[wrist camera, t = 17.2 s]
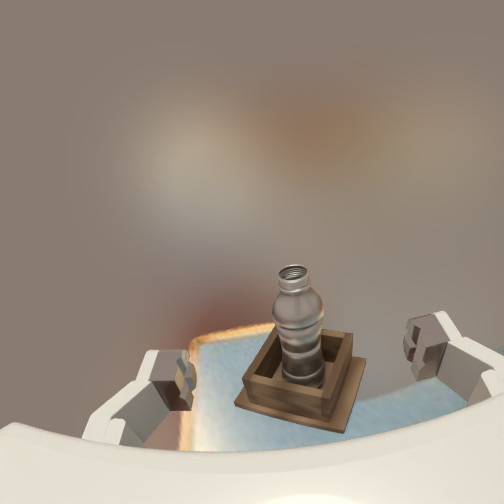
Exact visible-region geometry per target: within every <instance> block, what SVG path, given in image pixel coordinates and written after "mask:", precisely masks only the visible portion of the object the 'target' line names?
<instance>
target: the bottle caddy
mask: <svg viewBox="0 0 504 504" xmlns="http://www.w3.org/2000/svg"><path fill="white" fill-rule="evenodd" d="M352 346H353V333H345V332H339V331H332V330H325V329H321V348H322V355H323V358H324V361H325V366H326V374H325V378H324V381H323V383H322V384H321V385H320V386H319V387H318V388H311V387H307V386H302V385H297V384H293V383H288V382H284V381H283V379H282V375H281V370H282V362H283V361H282V346H281V342H280V337H279V334H278V331H277V328H276V326H275V327H274V328H273V330H272V332H271V333H270V335H269V336H268V338H267V340H266V341H265V343H264V344H263V346H262V348H261V349H260V351H259V352H258V354H257V355H256V357H255V359H254V360H253V362H252V363H251V365H250V366H249V368H248V369H247V371H246V373H245V374H244V376H243V377H242V380H243V383H244V387H243V389H242V390H241V392H240V393H239V395H238V397H237V398H236V400H235V401H234V404H235V406H237V407H241V408H244V409H247V410H250V411H254V412H257V413H260V414H264V415H267V416H271V417H274V418H278V419H282V420H285V421H289V422H293V423H297V424H301V425H305V426H310V427H314V428H318V429H323V430H328V431H332V432H337V433H342V434H343V433H344V431H345V428H346V425H347V422H348V419H349V416H350V413H351V410H352V407H353V404H354V401H355V398H356V395H357V391H358V388H359V385H360V381H361V378H362V375H363V371H364V367H365V364H366V358H360V357H352Z"/></svg>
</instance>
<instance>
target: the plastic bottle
mask: <svg viewBox="0 0 504 504" xmlns="http://www.w3.org/2000/svg"><path fill="white" fill-rule="evenodd" d="M277 278H278V288H279V290H280V292H279V294H278V295H277V297H276V299H275V300H274V303H273V307H272V316H273V320H274V323H275V326H276V328H277V331H278V334H279V337H280V342H281V346H282V361H283V362H282V370H281V375H282V379H283V381H284V382H288V383H293V384H297V385H302V386H307V387H311V388H318V387H319V386H320V385H321V384H322V383H323V381H324V378H325V374H326V366H325V361H324V358H323V355H322V348H321V328H322V321H323V313H324V304H323V301H322V299H321V297H320V295H319V294H318V293H317V292H316V291H315V290H314V289H313V288H311V287H310V286H311V280H310V277H309V271H308V268H307V267H305V266H303V265H298V264H295V265H288V266H285V267H283V268H282V269H280V270H279V271H278V273H277Z"/></svg>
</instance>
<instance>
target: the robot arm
mask: <svg viewBox="0 0 504 504" xmlns="http://www.w3.org/2000/svg"><path fill="white" fill-rule="evenodd" d="M406 329H407V331H408V333H407V334H406V335H405V336H404V342H403V344H404V345H403V346H404V353H405V356H406V358H407V360H408V361H410V362H412V366H411V370H412V372H413V374H414V377H415V379H416V381H420V380H424V379H428V378H432V377H436V376H437V377H436V378H438V379H439V380H440V381H441V382H443V383H444V384H445V385H447V386H448V387H449V388H450V389H452V390H453V391H454V392H456V393H457V394H458V395H459V396H461V397H462V398H463V399H465V400H466V401H467V404H466V406H465V408H463V409H460V410H458V411H455V412H452V413H449V414H446V415H443V416H440V417H437V418H434V419H431V420H428V421H424V422H421V423H418V424H414V425H411V426H407V427H403V428H400V429H396V430H392V431H388V432H384V433H379V434H375V435H371V436H366V437H361V438H356V439H351V440H345V441H340V442H334V443H327V444H320V445H313V446H305V447H296V448H287V449H275V450H261V451H238V452H196V451H174V450H160V449H148V448H147V446H146V445H145V444H144V442H145V441H146V440H147V439H148V438H149V436H150V435H151V434H152V433H153V432H154V431H155V429H156V428H157V427H158V426H159V425H160V423H161V422H162V421H163V420H164V419H165V418H166V417H167V415H168V414H169V413H170V411H191V408H192V403H193V398H194V397H193V395H192V393H191V392H192V391H193V390H194V389H195V388H196V382H197V381H196V371H195V368H194V365H193V364H192V363H190V362H189V357H190V356H189V354H188V352H187V350H185V349H174V350H149V351H147V352H146V354H145V357H144V360H143V362H142V365H141V367H140V370H139V373H138V375H137V378H136V381H132V382H131V383H129V384H128V385H127V386H126V387H124V388H123V389H122V390H121V391H119V392H118V393H117V394H116V395H115V396H113V397H112V398H111V399H110V400H108V401H107V402H106V403H105V404H104V405H102V406H101V407H100V408H99V409H97V410H96V411H95V412H94V413H93V414H91V416H90V419H89V421H88V424H87V426H86V429H85V431H84V434H83V436H82V439H80V438H76V437H71V436H67V435H62V434H58V433H54V432H50V431H46V430H42V429H38V428H35V427H31V426H28V425H25V424H22V423H17V422H14V423H11V424H9V425H7V426H5V427H4V428H2V429H1V430H0V504H504V356H502V355H501V354H499V353H497V352H495V351H493V350H491V349H489V348H487V347H485V346H483V345H481V344H479V343H477V342H475V341H473V340H471V339H469V338H467V337H464V338H463V337H462V336H461V334H460V333H459V331H458V330H457V328H456V327H455V325H454V324H453V322H452V321H451V319H450V318H449V316H448V315H447V313H446V312H444V311H440V312H436V313H432V314H428V315H424V316H420V317H415V318H411V319H408V321H407V324H406Z"/></svg>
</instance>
